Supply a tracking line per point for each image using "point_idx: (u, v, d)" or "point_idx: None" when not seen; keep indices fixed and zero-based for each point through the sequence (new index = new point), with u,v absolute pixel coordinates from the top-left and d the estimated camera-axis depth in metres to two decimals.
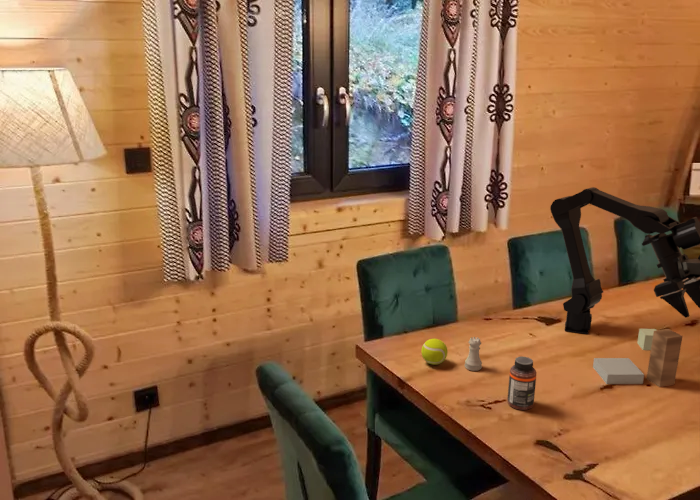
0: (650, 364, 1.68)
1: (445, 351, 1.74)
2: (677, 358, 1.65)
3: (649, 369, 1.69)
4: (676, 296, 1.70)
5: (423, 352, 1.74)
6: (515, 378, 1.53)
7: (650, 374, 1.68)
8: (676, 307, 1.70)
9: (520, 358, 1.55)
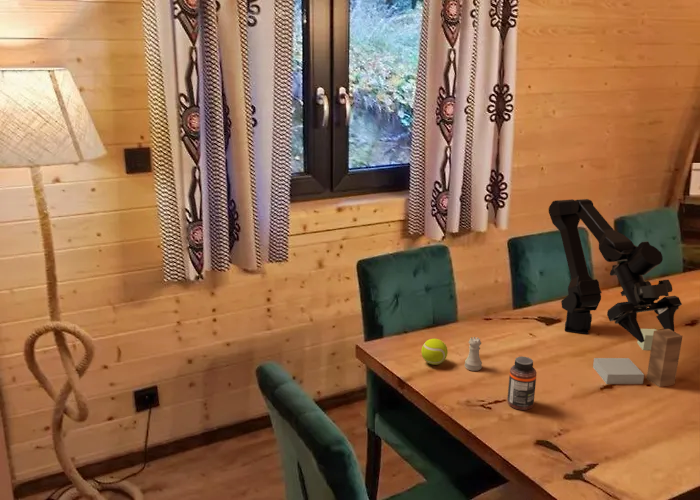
0: (650, 364, 1.68)
1: (445, 351, 1.74)
2: (677, 358, 1.65)
3: (649, 369, 1.69)
4: (630, 320, 1.69)
5: (423, 352, 1.74)
6: (515, 378, 1.53)
7: (650, 374, 1.68)
8: (631, 332, 1.69)
9: (520, 358, 1.55)
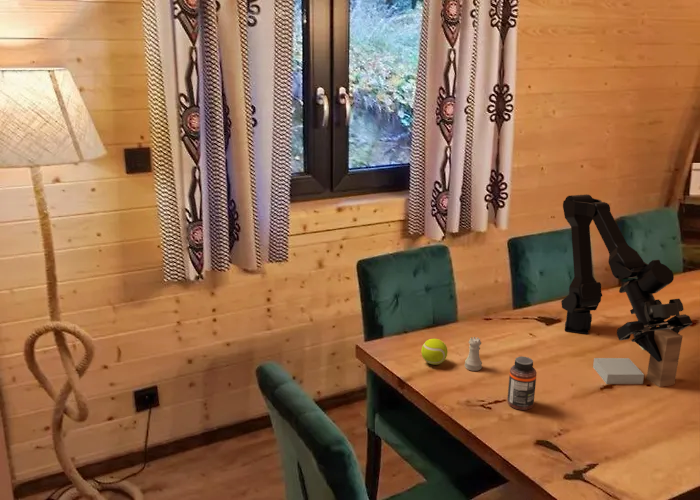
0: (650, 364, 1.68)
1: (445, 351, 1.74)
2: (677, 358, 1.65)
3: (649, 369, 1.69)
4: (647, 339, 1.67)
5: (423, 352, 1.74)
6: (515, 378, 1.53)
7: (650, 374, 1.68)
8: (648, 351, 1.67)
9: (520, 358, 1.55)
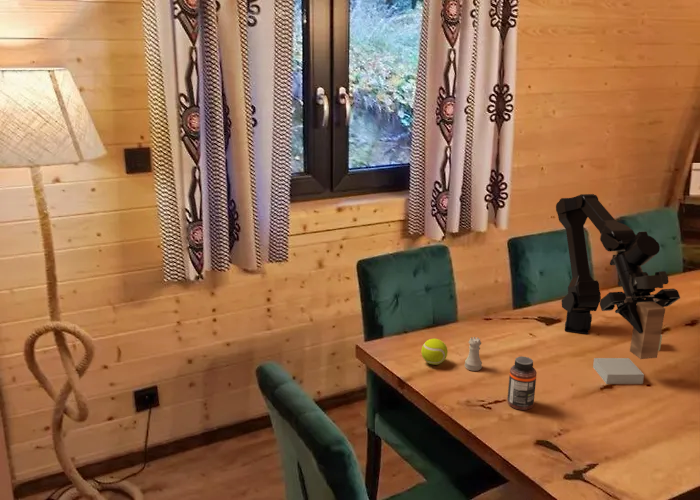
0: (633, 336, 1.68)
1: (445, 351, 1.74)
2: (660, 331, 1.64)
3: (632, 341, 1.68)
4: (630, 310, 1.66)
5: (423, 352, 1.74)
6: (515, 378, 1.53)
7: (633, 346, 1.68)
8: (631, 322, 1.66)
9: (520, 358, 1.55)
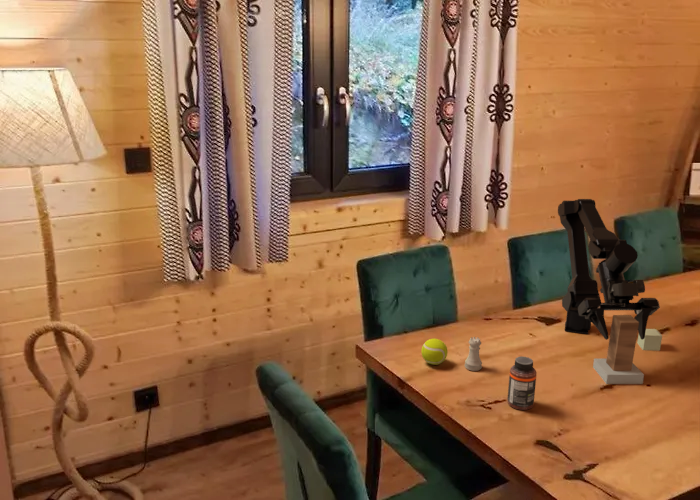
0: (609, 348, 1.71)
1: (445, 351, 1.74)
2: (633, 344, 1.67)
3: (608, 353, 1.71)
4: None
5: (423, 352, 1.74)
6: (515, 378, 1.53)
7: (608, 358, 1.71)
8: (598, 328, 1.69)
9: (520, 358, 1.55)
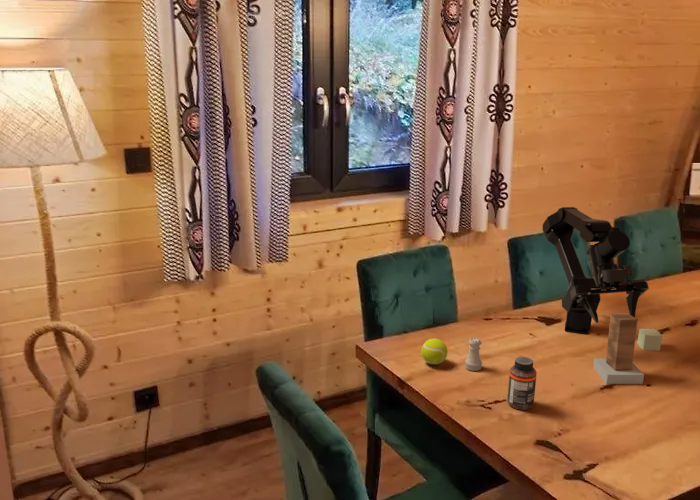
0: (608, 347, 1.71)
1: (445, 351, 1.74)
2: (633, 341, 1.67)
3: (607, 353, 1.72)
4: None
5: (423, 352, 1.74)
6: (515, 378, 1.53)
7: (608, 358, 1.71)
8: (589, 312, 1.79)
9: (520, 358, 1.55)
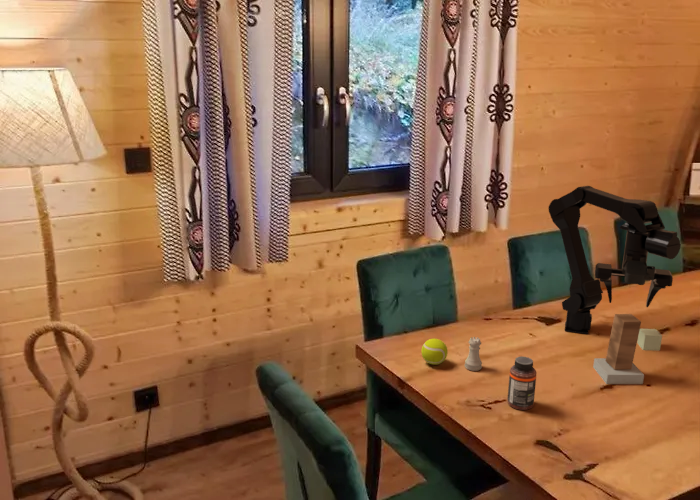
0: (609, 347, 1.71)
1: (445, 351, 1.74)
2: (635, 343, 1.67)
3: (608, 351, 1.72)
4: None
5: (423, 352, 1.74)
6: (515, 378, 1.53)
7: (608, 357, 1.71)
8: None
9: (520, 358, 1.55)
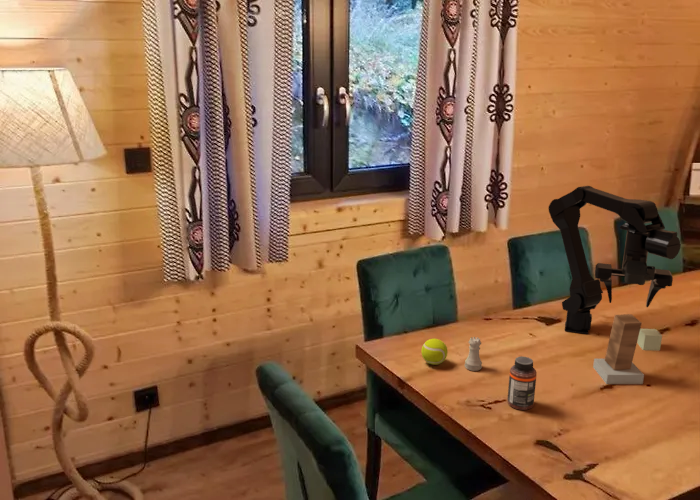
0: (609, 347, 1.71)
1: (445, 351, 1.74)
2: (635, 344, 1.67)
3: (607, 351, 1.71)
4: None
5: (423, 352, 1.74)
6: (515, 378, 1.53)
7: (608, 356, 1.71)
8: None
9: (520, 358, 1.55)
